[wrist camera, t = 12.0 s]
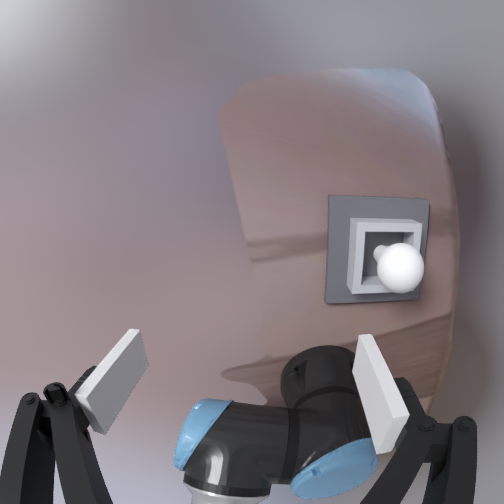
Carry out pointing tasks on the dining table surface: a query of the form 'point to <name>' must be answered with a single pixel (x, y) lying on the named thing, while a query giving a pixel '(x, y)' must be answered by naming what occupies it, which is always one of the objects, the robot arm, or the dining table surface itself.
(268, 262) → the dining table surface
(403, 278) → the lightbulb
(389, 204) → the lamp socket
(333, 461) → the robot arm
